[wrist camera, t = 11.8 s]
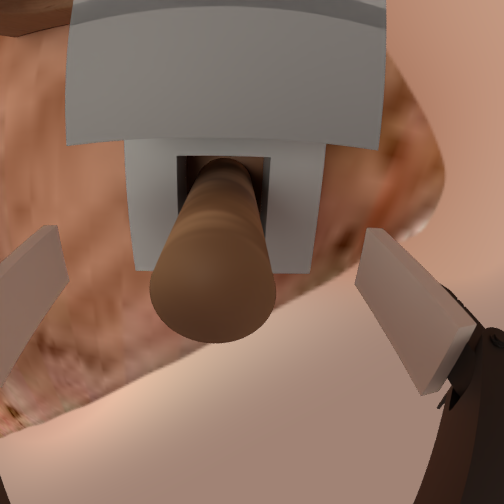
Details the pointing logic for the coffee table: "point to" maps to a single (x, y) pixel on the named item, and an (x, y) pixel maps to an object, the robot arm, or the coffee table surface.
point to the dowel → (215, 260)
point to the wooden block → (33, 15)
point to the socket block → (226, 101)
